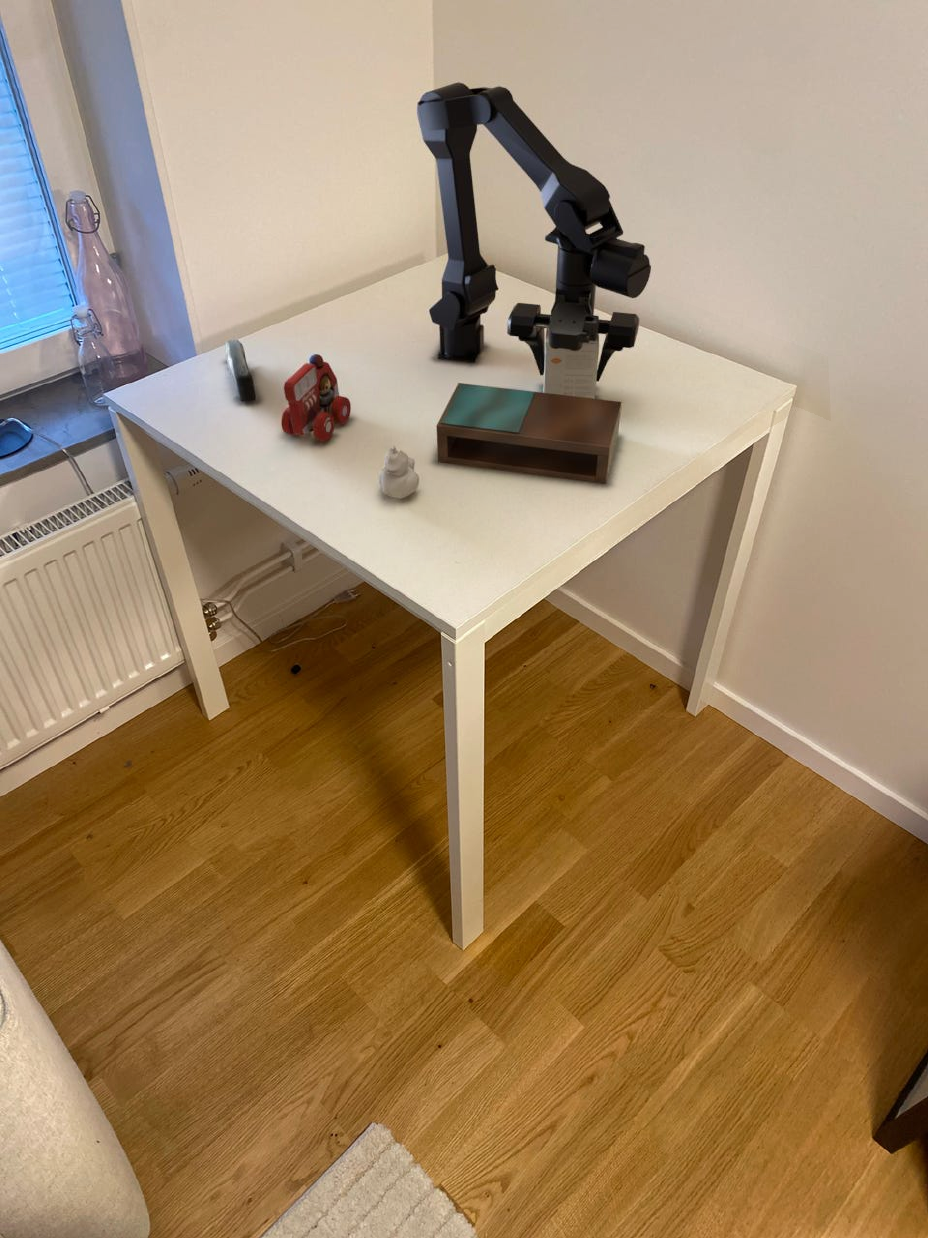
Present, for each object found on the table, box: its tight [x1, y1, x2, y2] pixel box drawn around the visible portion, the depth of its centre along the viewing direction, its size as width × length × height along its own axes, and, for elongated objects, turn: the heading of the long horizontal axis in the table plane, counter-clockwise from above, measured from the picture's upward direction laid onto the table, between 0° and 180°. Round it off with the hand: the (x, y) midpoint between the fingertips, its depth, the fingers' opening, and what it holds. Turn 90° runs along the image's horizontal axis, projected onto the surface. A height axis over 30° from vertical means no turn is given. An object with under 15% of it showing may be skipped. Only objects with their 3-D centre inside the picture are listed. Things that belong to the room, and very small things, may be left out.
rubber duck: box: [378, 445, 420, 499], centre depth 125 cm, size 5×7×8 cm
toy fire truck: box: [280, 353, 352, 442], centre depth 137 cm, size 7×12×10 cm, turn 157°
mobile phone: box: [225, 339, 257, 403], centre depth 149 cm, size 5×3×15 cm
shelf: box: [435, 382, 623, 485], centre depth 133 cm, size 24×12×6 cm, turn 75°
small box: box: [543, 328, 600, 399], centre depth 142 cm, size 8×6×10 cm
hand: (569, 377), depth 143 cm, fingers closed on small box, 8 cm apart
